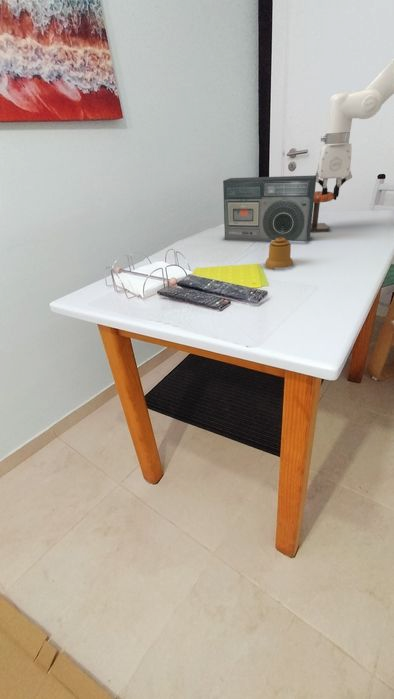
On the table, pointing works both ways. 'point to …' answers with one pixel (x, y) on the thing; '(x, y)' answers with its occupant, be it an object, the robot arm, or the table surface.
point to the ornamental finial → (279, 254)
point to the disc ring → (323, 197)
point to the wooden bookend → (315, 225)
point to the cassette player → (268, 208)
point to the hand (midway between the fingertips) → (329, 199)
